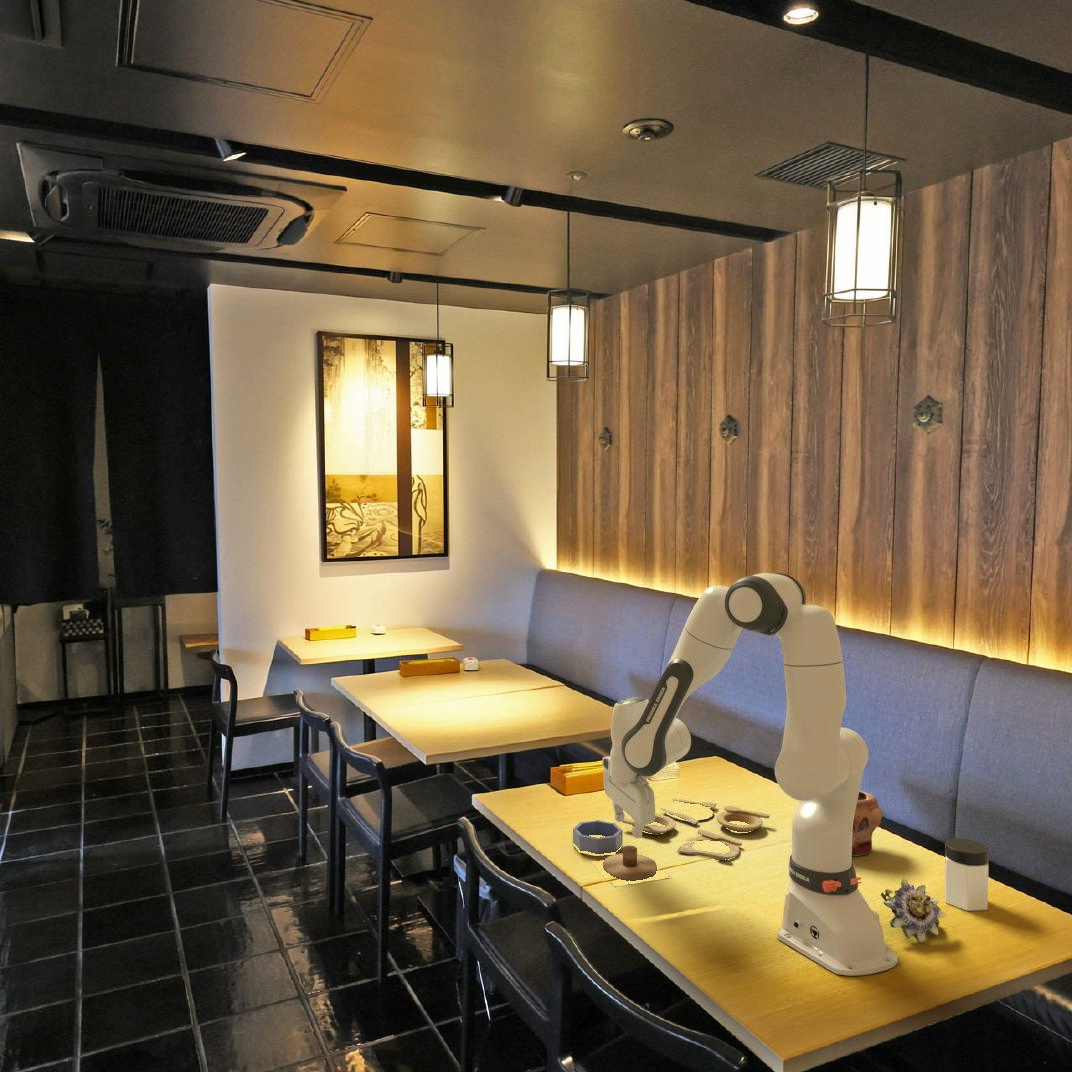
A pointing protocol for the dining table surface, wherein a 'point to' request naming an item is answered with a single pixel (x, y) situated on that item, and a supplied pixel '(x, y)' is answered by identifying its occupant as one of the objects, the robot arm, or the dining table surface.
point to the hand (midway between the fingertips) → (628, 828)
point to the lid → (630, 865)
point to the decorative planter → (865, 823)
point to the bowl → (598, 845)
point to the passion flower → (913, 910)
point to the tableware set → (722, 818)
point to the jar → (966, 874)
